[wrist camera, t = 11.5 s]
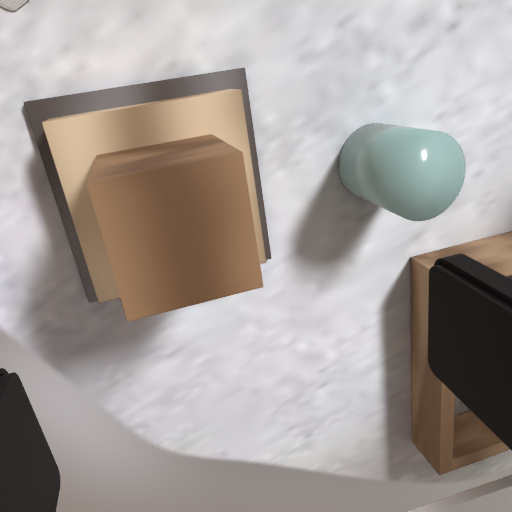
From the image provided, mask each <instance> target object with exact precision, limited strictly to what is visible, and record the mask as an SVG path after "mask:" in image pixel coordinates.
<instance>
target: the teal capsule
mask: <svg viewBox="0 0 512 512" xmlns="http://www.w3.org/2000/svg"><path fill="white" fill-rule="evenodd" d="M338 167H339V175H340V178H341V181H342V183H343V185H344V186H345V187H346V189H347V190H348V191H349V192H351V193H352V194H354V195H356V196H358V197H360V198H362V199H364V200H366V201H369V202H371V203H373V204H375V205H377V206H379V207H382V208H384V209H386V210H388V211H390V212H392V213H395V214H397V215H399V216H401V217H403V218H406V219H408V220H412V221H425V220H429V219H431V218H434V217H436V216H438V215H439V214H441V213H442V212H444V211H445V210H446V209H447V208H448V207H449V206H450V205H451V204H452V203H453V201H454V200H455V199H456V197H457V196H458V194H459V192H460V190H461V187H462V185H463V182H464V178H465V168H466V165H465V157H464V154H463V151H462V149H461V147H460V145H459V144H458V142H457V141H456V140H455V139H454V138H453V137H451V136H450V135H448V134H446V133H444V132H440V131H433V130H426V129H418V128H411V127H404V126H396V125H389V124H382V123H372V124H367V125H365V126H362V127H360V128H359V129H357V130H356V131H355V132H354V133H352V134H351V135H350V137H349V138H348V139H347V140H346V142H345V144H344V146H343V148H342V150H341V153H340V156H339V165H338Z"/></svg>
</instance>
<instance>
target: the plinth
mask: <svg viewBox="0 0 512 512" xmlns="http://www.w3.org/2000/svg"><path fill="white" fill-rule="evenodd" d="M24 105H25V108H26V111H27V114H28V117H29V120H30V123H31V126H32V129H33V132H34V135H35V138H36V141H37V144H38V148H39V151H40V154H41V157H42V160H43V163H44V166H45V169H46V172H47V175H48V178H49V181H50V184H51V187H52V191H53V194H54V197H55V200H56V203H57V206H58V209H59V212H60V215H61V218H62V221H63V224H64V227H65V230H66V233H67V237H68V240H69V243H70V246H71V249H72V252H73V255H74V258H75V261H76V264H77V267H78V270H79V273H80V276H81V279H82V283H83V286H84V289H85V292H86V295H87V298H88V301H89V303H90V302H94V301H98V302H99V303H101V302H105V301H109V300H113V299H117V298H120V295H119V292H118V288H117V285H116V281H115V278H114V275H113V271H112V268H111V265H110V261H109V258H108V254H107V251H106V248H105V244H104V241H103V237H102V234H101V231H100V227H99V224H98V221H97V217H96V214H95V210H94V207H93V204H92V200H91V197H90V194H89V190H88V187H87V183H86V182H87V179H88V177H89V174H90V171H91V169H92V166H93V163H94V161H95V158H96V155H100V154H106V153H111V152H116V151H122V150H127V149H133V148H138V147H144V146H149V145H154V144H160V143H165V142H171V141H176V140H182V139H187V138H192V137H198V136H203V135H209V134H212V135H214V136H216V137H218V138H219V139H221V140H223V141H224V142H226V143H228V144H229V145H231V146H233V147H235V148H236V149H238V150H240V151H241V152H243V157H244V164H245V170H246V177H247V183H248V190H249V196H250V203H251V210H252V216H253V223H254V229H255V236H256V242H257V249H258V255H259V262H260V264H261V263H265V262H266V260H267V259H271V253H270V245H269V238H268V231H267V224H266V217H265V210H264V202H263V195H262V188H261V181H260V174H259V167H258V159H257V152H256V145H255V138H254V131H253V123H252V116H251V109H250V102H249V95H248V88H247V80H246V73H245V68H240V69H233V70H227V71H220V72H214V73H207V74H201V75H195V76H188V77H182V78H175V79H169V80H162V81H156V82H149V83H143V84H137V85H130V86H124V87H117V88H111V89H104V90H98V91H92V92H85V93H79V94H72V95H66V96H59V97H53V98H46V99H40V100H34V101H27V102H24Z"/></svg>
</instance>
